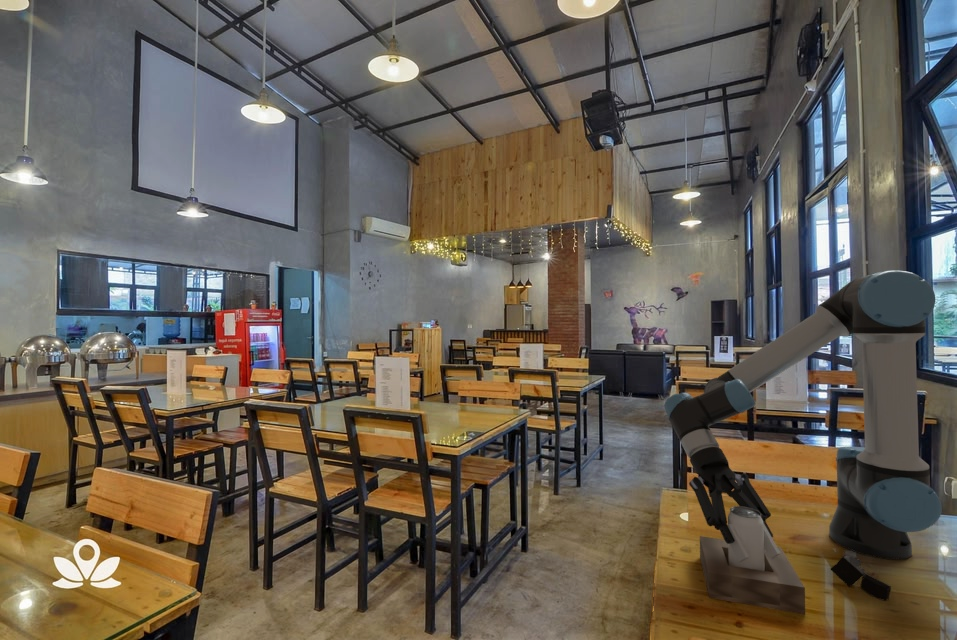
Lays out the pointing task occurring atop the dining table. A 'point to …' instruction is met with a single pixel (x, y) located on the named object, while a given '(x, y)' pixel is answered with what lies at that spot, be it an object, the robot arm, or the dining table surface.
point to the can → (748, 537)
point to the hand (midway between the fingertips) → (759, 557)
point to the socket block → (751, 579)
